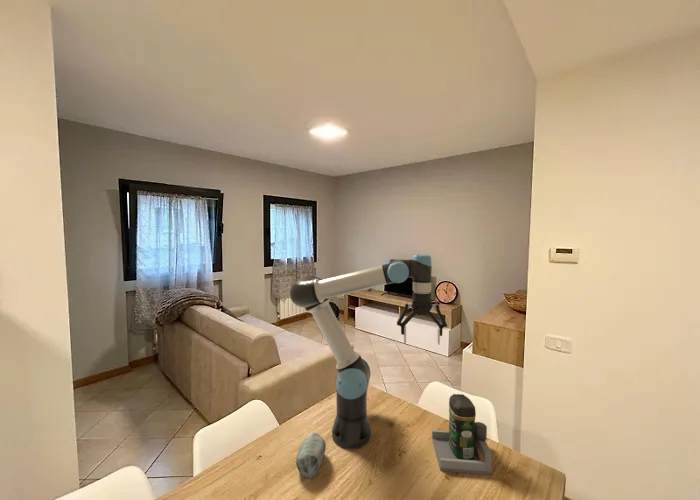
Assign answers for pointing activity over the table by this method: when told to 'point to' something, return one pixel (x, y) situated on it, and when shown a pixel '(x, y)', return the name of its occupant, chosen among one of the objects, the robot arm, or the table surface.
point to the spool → (310, 455)
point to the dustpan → (455, 464)
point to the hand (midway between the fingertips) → (421, 342)
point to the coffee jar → (462, 426)
